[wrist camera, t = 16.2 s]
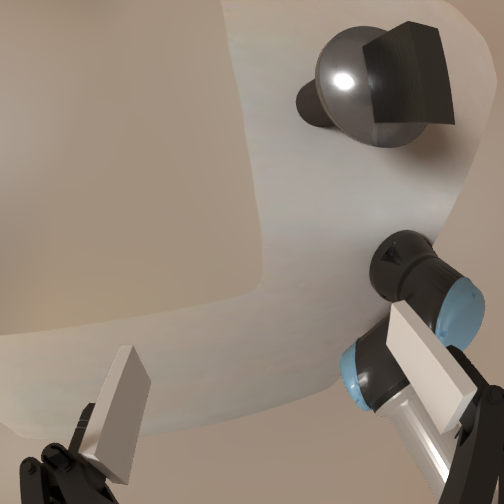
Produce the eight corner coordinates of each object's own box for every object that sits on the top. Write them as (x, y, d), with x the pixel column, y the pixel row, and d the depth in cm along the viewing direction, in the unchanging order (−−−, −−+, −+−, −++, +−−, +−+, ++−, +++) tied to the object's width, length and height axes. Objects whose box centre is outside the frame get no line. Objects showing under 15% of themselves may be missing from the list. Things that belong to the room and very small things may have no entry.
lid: (413, 38, 21) (470, 17, 12) (429, 146, 26) (492, 157, 17) (304, 27, 21) (338, -17, 12) (324, 150, 26) (370, 159, 17)
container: (354, 105, 42) (422, 94, 24) (320, 139, 44) (376, 144, 26) (319, 69, 40) (371, 33, 21) (283, 103, 42) (317, 80, 23)
